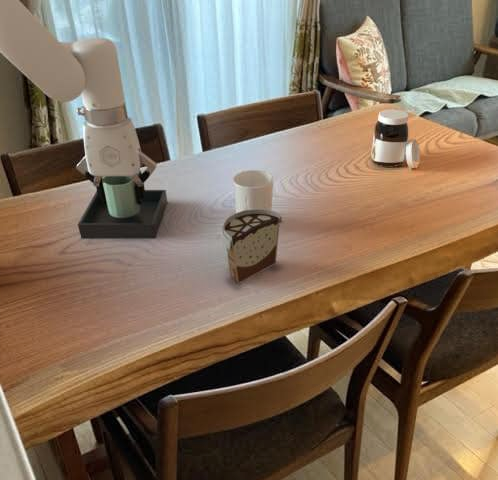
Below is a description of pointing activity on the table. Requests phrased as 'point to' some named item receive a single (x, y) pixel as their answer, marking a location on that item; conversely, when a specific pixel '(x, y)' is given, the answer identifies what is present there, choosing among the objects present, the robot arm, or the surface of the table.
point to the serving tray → (124, 219)
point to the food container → (251, 242)
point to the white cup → (253, 190)
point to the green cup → (120, 196)
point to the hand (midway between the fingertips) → (123, 201)
